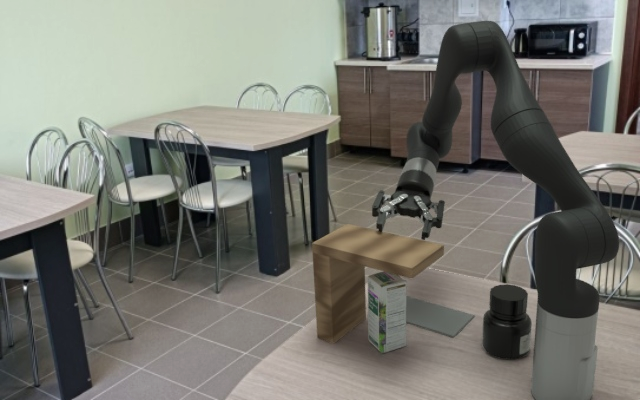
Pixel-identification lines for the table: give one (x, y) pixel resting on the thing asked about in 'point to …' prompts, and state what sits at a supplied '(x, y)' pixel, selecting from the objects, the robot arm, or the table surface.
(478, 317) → the table surface
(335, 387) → the table surface
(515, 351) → the ink bottle
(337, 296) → the shelf
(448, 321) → the mat
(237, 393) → the table surface
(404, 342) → the syrup box
